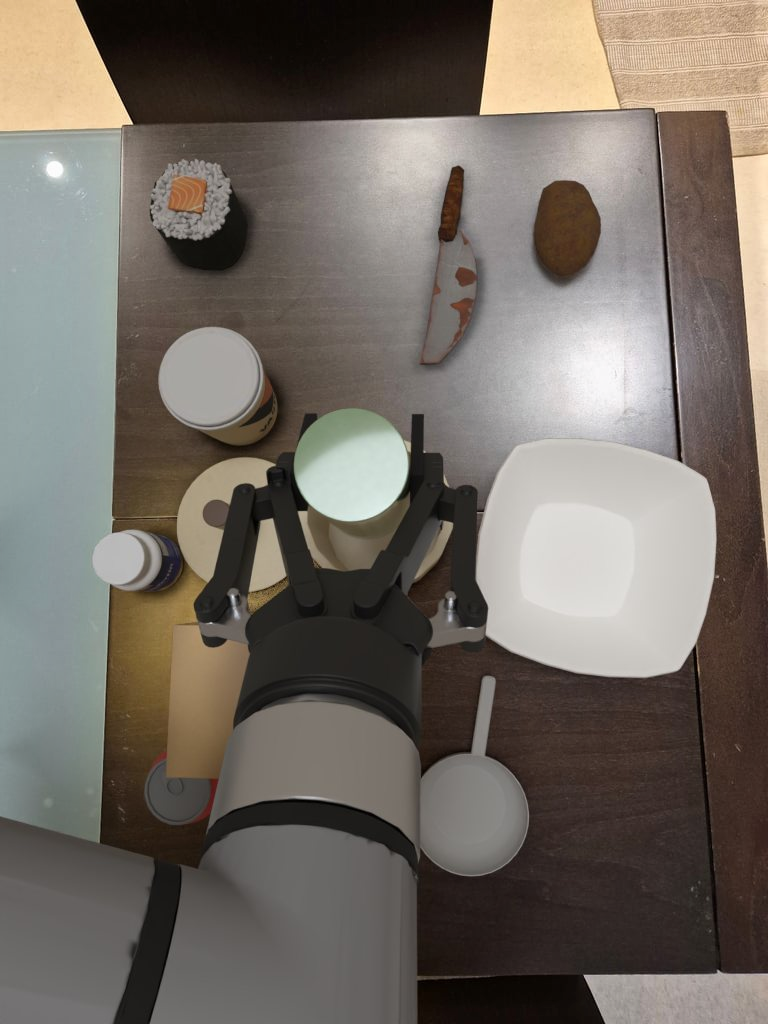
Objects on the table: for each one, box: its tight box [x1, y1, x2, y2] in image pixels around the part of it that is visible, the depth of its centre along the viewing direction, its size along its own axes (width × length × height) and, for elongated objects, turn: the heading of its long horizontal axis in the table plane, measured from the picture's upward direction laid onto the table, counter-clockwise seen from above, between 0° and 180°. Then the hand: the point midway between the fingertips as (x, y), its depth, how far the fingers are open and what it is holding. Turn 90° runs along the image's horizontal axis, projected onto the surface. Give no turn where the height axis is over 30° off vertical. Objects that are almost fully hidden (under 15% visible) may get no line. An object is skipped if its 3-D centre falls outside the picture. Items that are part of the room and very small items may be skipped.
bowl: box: [475, 437, 718, 679], centre depth 68 cm, size 21×21×9 cm
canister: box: [294, 407, 410, 540], centre depth 44 cm, size 6×6×12 cm
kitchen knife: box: [419, 164, 478, 364], centre depth 76 cm, size 21×2×5 cm
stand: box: [166, 621, 250, 779], centre depth 61 cm, size 10×10×24 cm
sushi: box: [149, 158, 248, 271], centre depth 74 cm, size 8×8×8 cm
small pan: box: [420, 674, 530, 877], centre depth 69 cm, size 11×18×4 cm, turn 171°
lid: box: [176, 456, 287, 593], centre depth 69 cm, size 14×14×11 cm
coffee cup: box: [158, 326, 278, 447], centre depth 70 cm, size 9×9×12 cm
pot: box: [298, 439, 453, 584], centre depth 67 cm, size 13×13×14 cm
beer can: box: [143, 749, 219, 826], centre depth 66 cm, size 7×7×12 cm
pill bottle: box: [91, 529, 184, 592], centre depth 70 cm, size 6×6×10 cm
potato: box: [533, 179, 602, 279], centre depth 73 cm, size 7×10×6 cm
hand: (364, 432), depth 47 cm, fingers closed on canister, 6 cm apart
